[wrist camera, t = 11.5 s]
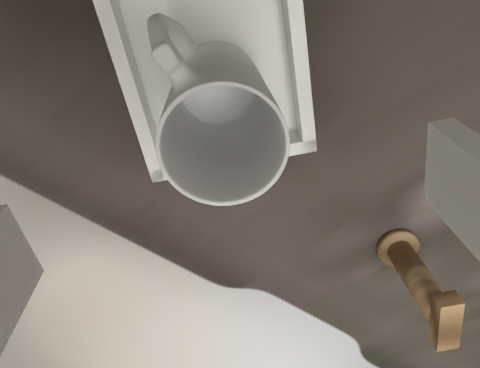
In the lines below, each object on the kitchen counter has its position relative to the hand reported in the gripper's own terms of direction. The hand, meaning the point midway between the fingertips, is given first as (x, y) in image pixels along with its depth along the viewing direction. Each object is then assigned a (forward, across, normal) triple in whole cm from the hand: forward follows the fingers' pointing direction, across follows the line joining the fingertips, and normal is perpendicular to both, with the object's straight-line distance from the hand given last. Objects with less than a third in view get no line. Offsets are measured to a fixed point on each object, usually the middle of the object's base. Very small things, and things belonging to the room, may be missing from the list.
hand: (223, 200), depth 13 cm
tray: (+20, 0, 0) cm, 20 cm away
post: (+20, +14, -21) cm, 32 cm away
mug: (+20, -1, 0) cm, 20 cm away
